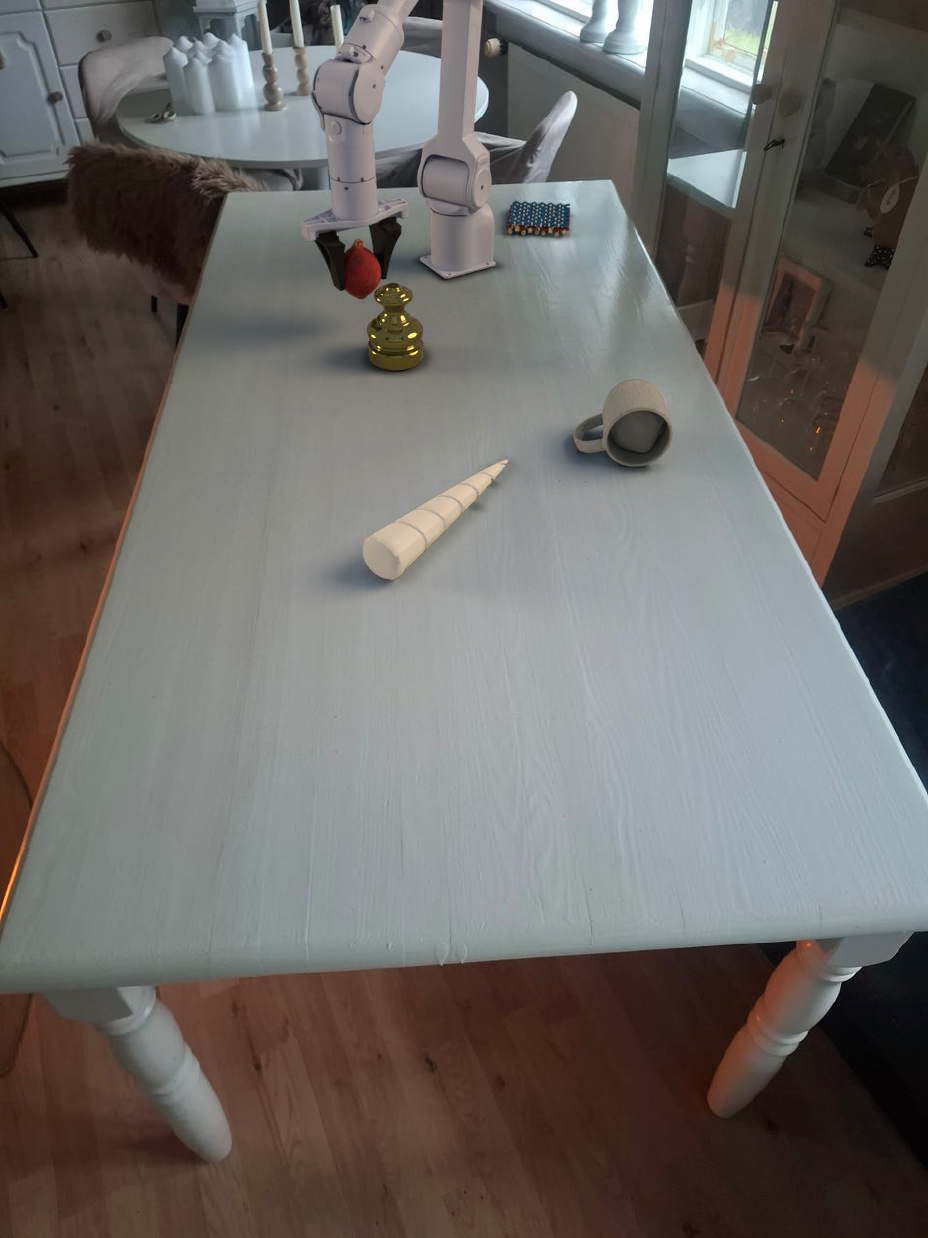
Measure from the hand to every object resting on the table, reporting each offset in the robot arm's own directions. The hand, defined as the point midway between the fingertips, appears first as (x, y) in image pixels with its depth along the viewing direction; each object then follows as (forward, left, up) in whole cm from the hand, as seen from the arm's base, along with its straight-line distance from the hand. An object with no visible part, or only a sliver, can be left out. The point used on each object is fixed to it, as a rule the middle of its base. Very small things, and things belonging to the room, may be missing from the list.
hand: (360, 281), depth 116 cm
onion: (0, 0, -3) cm, 3 cm away
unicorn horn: (+13, +41, -7) cm, 44 cm away
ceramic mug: (-12, +41, -7) cm, 43 cm away
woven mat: (-43, -17, -7) cm, 47 cm away
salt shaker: (0, +9, -7) cm, 11 cm away
